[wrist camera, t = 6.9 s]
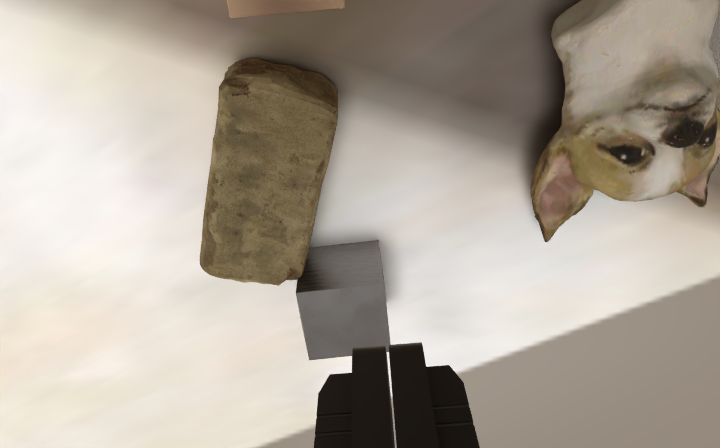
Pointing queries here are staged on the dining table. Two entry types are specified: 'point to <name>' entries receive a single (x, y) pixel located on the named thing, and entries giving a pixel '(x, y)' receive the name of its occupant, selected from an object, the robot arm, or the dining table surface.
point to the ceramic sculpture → (631, 106)
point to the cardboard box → (278, 6)
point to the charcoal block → (343, 300)
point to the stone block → (266, 171)
